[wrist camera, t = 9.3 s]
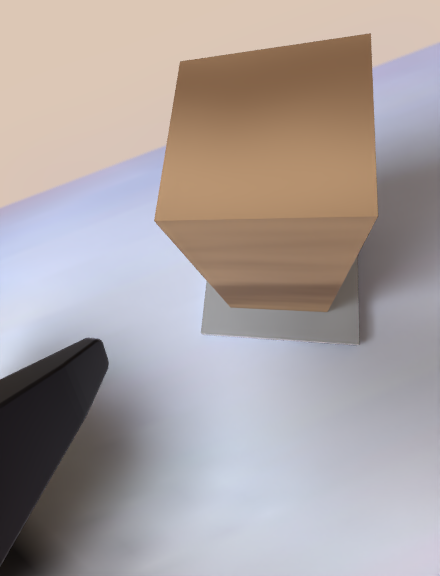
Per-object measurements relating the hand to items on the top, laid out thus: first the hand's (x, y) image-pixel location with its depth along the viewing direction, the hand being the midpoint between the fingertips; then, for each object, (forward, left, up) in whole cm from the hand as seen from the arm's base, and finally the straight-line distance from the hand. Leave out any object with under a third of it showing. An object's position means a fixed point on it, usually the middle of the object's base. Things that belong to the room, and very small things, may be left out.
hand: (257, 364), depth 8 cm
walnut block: (+5, -2, -8) cm, 10 cm away
